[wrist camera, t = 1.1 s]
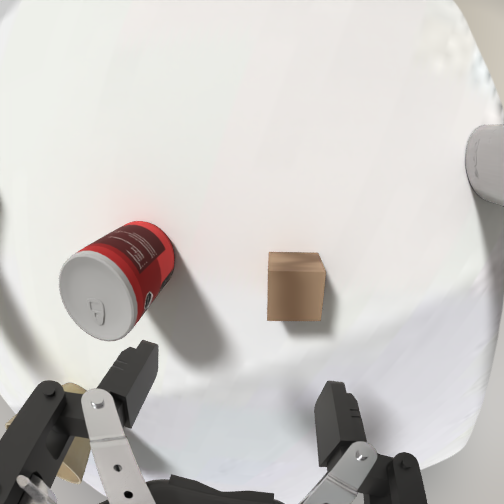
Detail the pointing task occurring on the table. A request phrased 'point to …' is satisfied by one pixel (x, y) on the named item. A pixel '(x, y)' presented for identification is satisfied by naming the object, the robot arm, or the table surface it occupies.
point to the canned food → (116, 279)
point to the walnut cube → (295, 286)
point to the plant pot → (72, 449)
